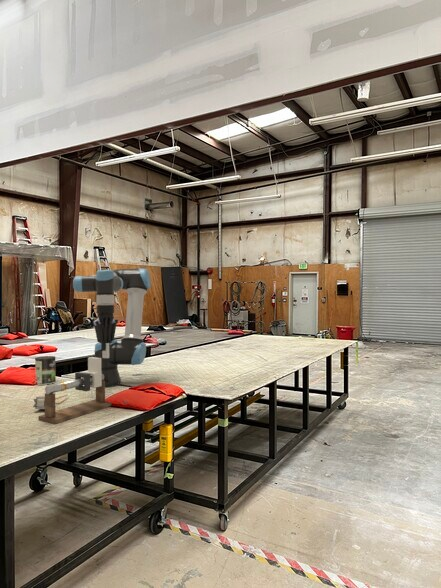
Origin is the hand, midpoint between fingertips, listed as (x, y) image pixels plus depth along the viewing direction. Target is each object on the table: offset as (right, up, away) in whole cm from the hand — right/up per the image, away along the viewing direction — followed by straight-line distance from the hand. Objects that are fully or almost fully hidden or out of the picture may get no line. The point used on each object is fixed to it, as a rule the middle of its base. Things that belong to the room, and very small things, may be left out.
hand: (105, 357), depth 178 cm
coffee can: (-45, -21, +42) cm, 65 cm away
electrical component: (-23, -21, -1) cm, 31 cm away
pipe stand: (-8, -20, -13) cm, 26 cm away
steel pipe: (-8, -10, -13) cm, 19 cm away
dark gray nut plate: (-7, -12, -11) cm, 17 cm away
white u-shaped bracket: (-4, -11, -6) cm, 13 cm away
